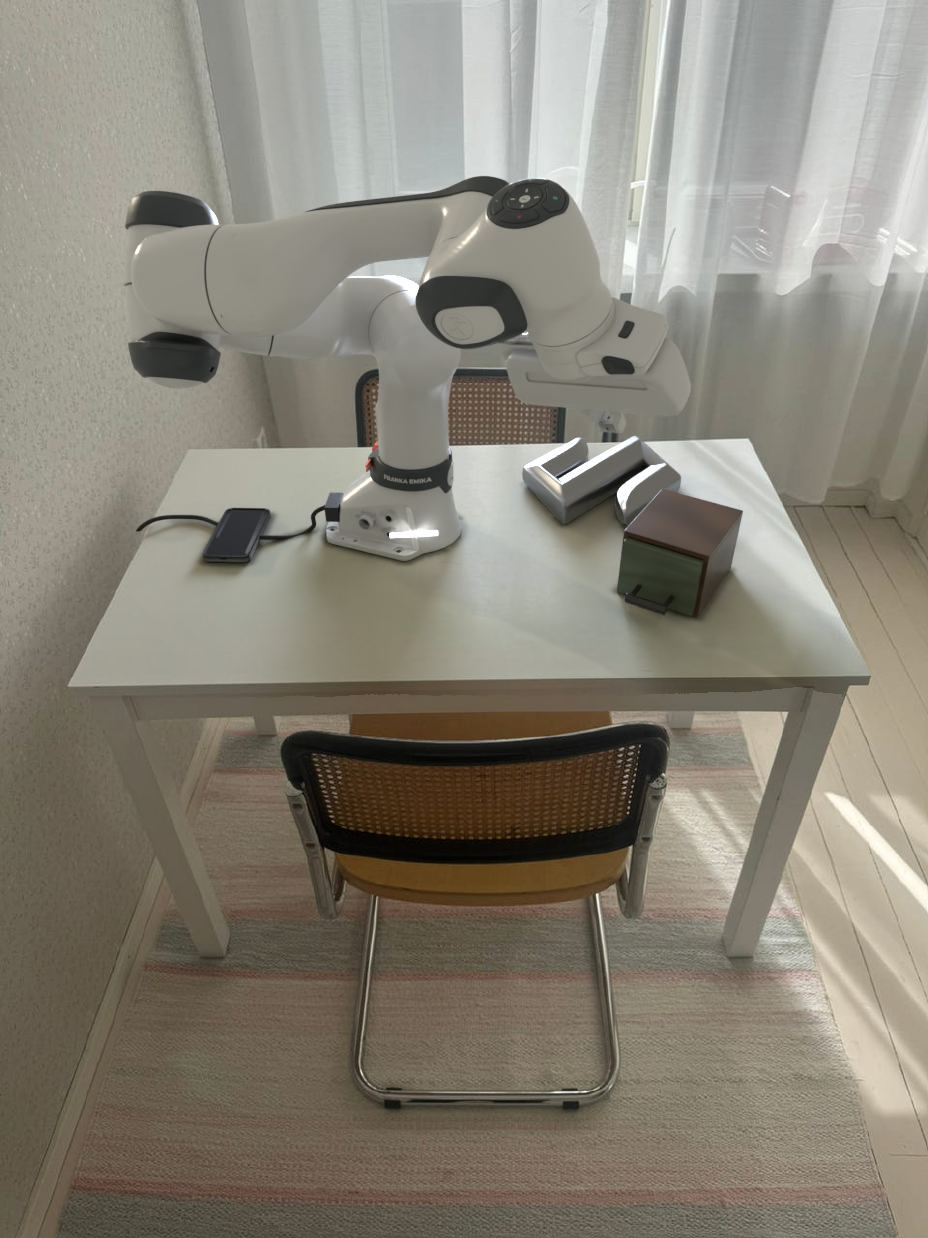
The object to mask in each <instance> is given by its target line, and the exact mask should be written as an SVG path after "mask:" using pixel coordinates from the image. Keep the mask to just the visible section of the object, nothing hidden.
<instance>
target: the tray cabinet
mask: <svg viewBox="0 0 928 1238" xmlns="http://www.w3.org/2000/svg"><path fill="white" fill-rule="evenodd" d="M743 514H744V510H742V509H739V508H735V507H731V506H728V505H723V504H720V503H717V502H712V501H709V500H706V499H702V498H699V497H695V496H691V495H687V494H683V493H680V492H673V491H669V490H665V489H662V490H661V491H660V492H659V493H658V494H657V495H656V496H655V497H654V499H653V500H652V501H651V502H650V503H649V504H648V505H647V506H646V507H645V508H644V509H643V511H642V512H641V513H640V514H639V515H638V516H637V517H636V518H635V519H634V520H633V521H632V523H631V524H630V525H629V526H627V527H626V528H625V529H624V530H623V534H622V535H623V536H622V544H621V553H620V561H619V569H618V570H619V571H618V578H617V581H618V582H617V587H616V591H617V592H619V591H618V585H619V576H620V568H621V559H622V551H623V542H624V540H625V539H626V538H627V537H628V538H631V539H634V540H635V539H638V540H641V541H644V542H648V543H651V544H654V545H657V546H661V547H664V548H667V549H671V550H674V551H677V552H680V553H684V554H687V555H690V556H694V557H697V558H700V559H703V561H704V563H703V569H702V574H701V579H700V584H699V590H698V595H697V600H696V605H695V611H694V613H693V614H692V616H691V617H694V618H698V617H699V616H700V615H701V614H702V612H703V611H704V609H705V607H706V606H707V604H709V602H710V601H711V599H712V598H713V596H714V595H715V593H716V592H717V590H718V589H719V587H720V586H721V585H722V583H723V582H724V580H725V579H726V577H727V576H728V575H729V573H730V571H731V569H732V564H733V560H734V555H735V550H736V546H737V541H738V537H739V532H740V528H741V523H742V518H743Z"/></svg>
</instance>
